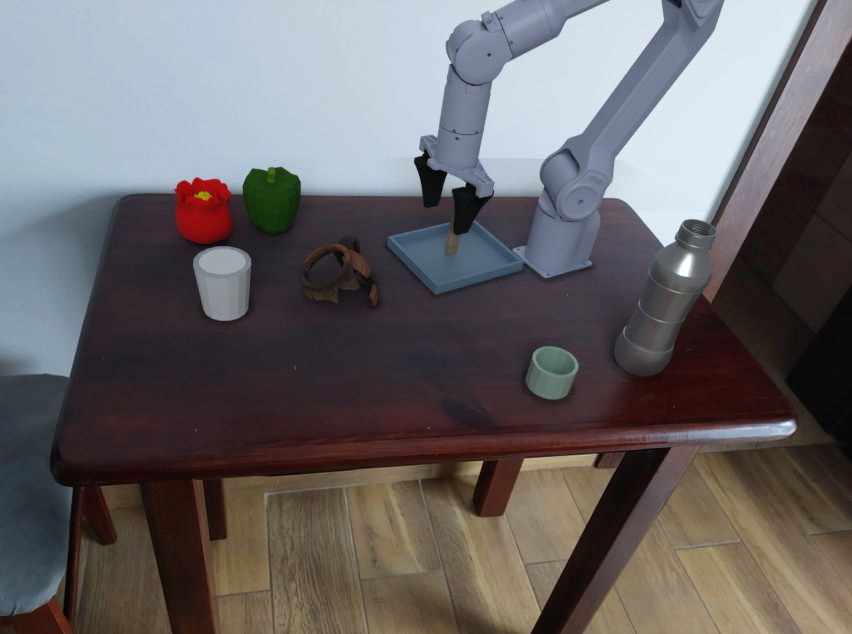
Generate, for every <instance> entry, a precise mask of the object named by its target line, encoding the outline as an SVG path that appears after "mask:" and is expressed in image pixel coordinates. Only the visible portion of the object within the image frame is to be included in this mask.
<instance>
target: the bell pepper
mask: <svg viewBox="0 0 852 634" xmlns="http://www.w3.org/2000/svg"><path fill="white" fill-rule="evenodd" d="M241 187H242V198H243V199H242V200H243V202H244V206H245V210H246V213H247V217H248V219H249V221H250V222H251V223H252V225H253V226H255V227H256V228H259V229H260V230H261V231H263V232H264V233H266V234H274V235H277V234H282V233H283V234H284V233H285V232H287V230H288V229H289V228H290V227H291V226H292V224H293V222H294V220H295V219H296V216H297V213H298V211H299V207H300V204H301V195H302V183H301V180H300V177H299V175H298V174H294V173H291V171H289V170H288V169H286V168H284V167H283V166H276V167H274V166H268V168H267V170H266V169H261V168H254V167H252V168H251V169H250V170H249V172H248V173H247V175H246V177H245V178H244V180H243V183H242V186H241Z"/></svg>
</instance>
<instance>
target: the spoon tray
mask: <svg viewBox="0 0 852 634" xmlns="http://www.w3.org/2000/svg"><path fill="white" fill-rule="evenodd" d="M449 225H450V221H449V222H445V223H440V224H436V225H431V226H428V227H423V228H419V229H415V230H414V229H413V230H410V231H406V232H401V233H397V234H393V235H389V236H387V241H386V242H387V243H386V246H387V248H388V249H389V250H391V252H392V253H394V255H395V256H396V257H397V258H398V259H399V260H400V261H401V262H402V263H403V264H404V265H405V266H406V267H407V268H408V269H409V270H410V271H411V272H412V273H413V274H414V275H415V276H416V277H417V278H418V279H419V280H420V281H421V282H422V283H423V284H424V286H425V287H426V288H428V289H429V291H430V292H432V294H433V295H434V296H437V295H441V294H444V293H447V292H451V291H455V290H458V289H462V288H465V287H469V286H472V285H475V284H476V285H477V284H479V283H483V282H486V281H490V280H493V279H497V278H500V277H504V276H507V275H510V274H514V273H518V272H521V271H523V268H524V264H525V263H524V261H523V260H522V259H521V258H519V257H518V256H517V255H516V254H515V253H513V252H512V249H510V248H509V247H507V245H506V244H504V243H503V241H501V240H499V239H498V238H497V237H496V236H494V235H493V234H492V233H491V232H490V231H489V230H487V229H486V228H485V227H484V226H483V225H481V224H480V223H479V222H478V221H477V220H476V219H475V220H474V222H473V223H472V225H471V227H470V229H469V231H468V233H465V234H461V235H460V239H459V243H458V248H457V253H453V254H449V255H448V254H447V253H445V246H446V241H447V235H448V230H449Z"/></svg>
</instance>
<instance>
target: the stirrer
mask: <svg viewBox="0 0 852 634" xmlns="http://www.w3.org/2000/svg"><path fill="white" fill-rule="evenodd" d="M454 215H455V207H454V204H452V209H451V215H450V221H449V222H450V225H449V230H448V235H447V241H446V246H445V253H447V254H448V255H449V254H453V253H457V248H458V243H459V239H460V235H455V234H454V232H453V224H454Z"/></svg>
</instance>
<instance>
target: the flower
mask: <svg viewBox="0 0 852 634" xmlns="http://www.w3.org/2000/svg"><path fill="white" fill-rule="evenodd" d="M173 191H174V192H175V195H173V199H174V200H175V203H176V205H175V212H174V213H175V214H174V215H175V216H174V217H175V221H176V226H177V230H178V232H179V234H180V235H181V236H182V237H183V238H184V239H186V240H188V241H189V242H192V243H195V244H200V245H209V244H210V245H211V244H214V243H217V242H221V241H223V240H225V239H227V238H228V237H229V236H230V234H231V233H232V230H233V217H232V212H231V209H230V206H229V205H230V199H231V198H232V194H233V193H232V191H230V190H229V188H228V185H227V183H225V182H221V179H218V178H209V179H202V178H200V177H198V176H197V177H194V178H193V179H192V182H190V181H188V180H186V179H183V180H181V181H179V182H178V183H177V184H176V187H175V188H173Z"/></svg>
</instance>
